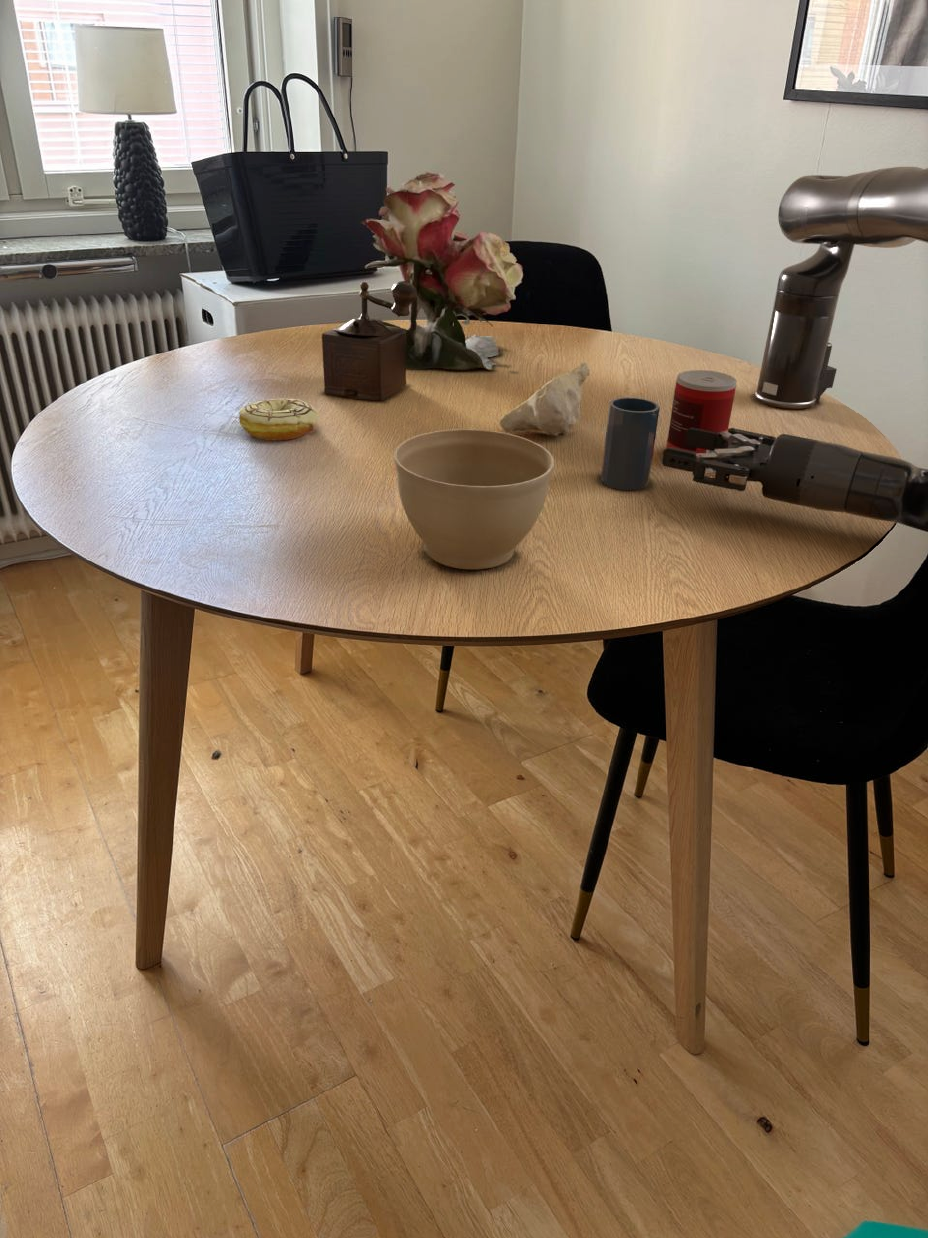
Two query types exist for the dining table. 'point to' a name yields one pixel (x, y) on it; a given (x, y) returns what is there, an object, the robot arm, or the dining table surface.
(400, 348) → the manual coffee grinder
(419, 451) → the planter bowl
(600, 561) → the dining table surface
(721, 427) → the canned food
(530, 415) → the cream rock
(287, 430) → the decorated donut
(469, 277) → the rose bouquet
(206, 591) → the dining table surface
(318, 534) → the dining table surface
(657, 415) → the tumbler
